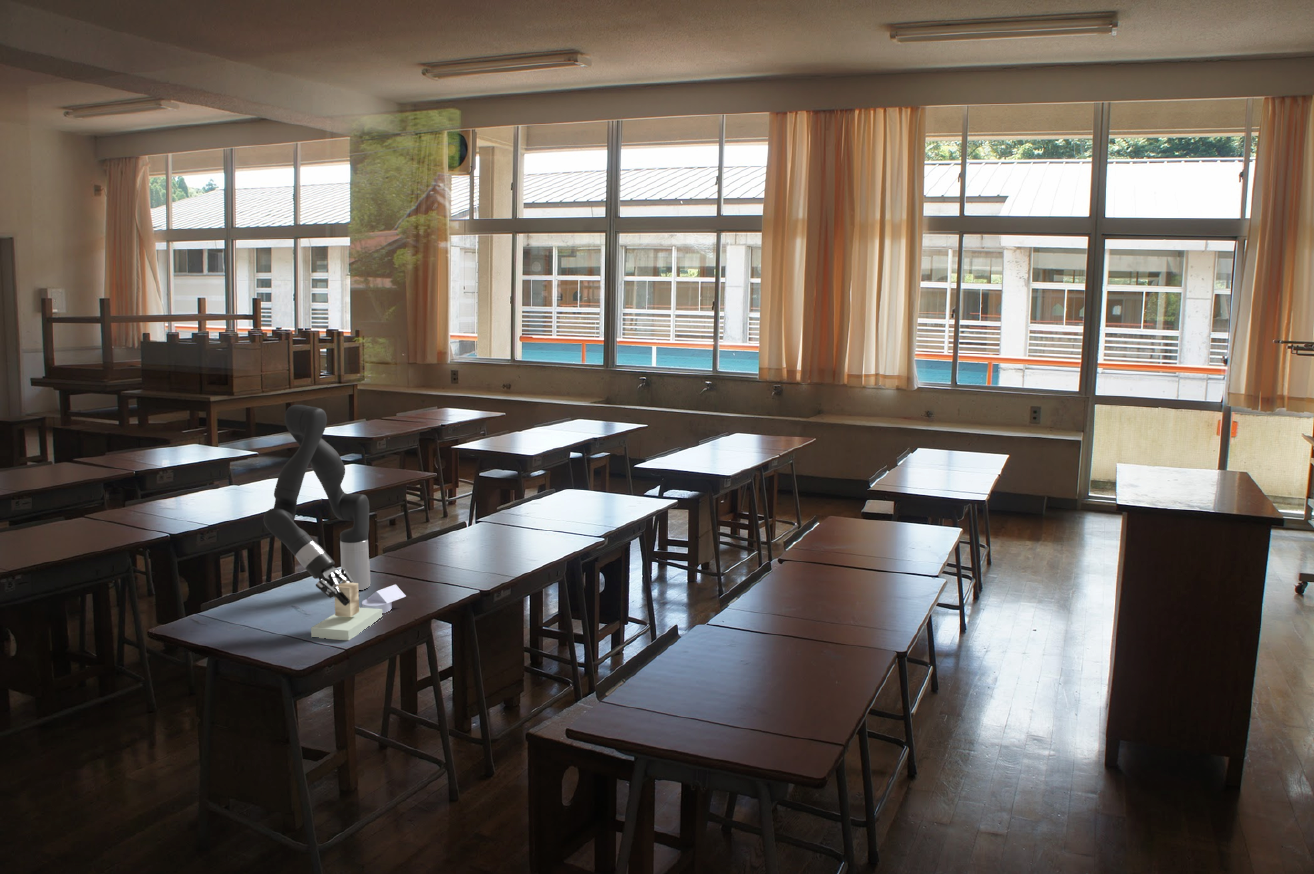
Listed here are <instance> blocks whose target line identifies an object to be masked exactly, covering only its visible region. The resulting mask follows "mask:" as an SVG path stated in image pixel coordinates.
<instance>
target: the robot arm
mask: <svg viewBox="0 0 1314 874" xmlns="http://www.w3.org/2000/svg"><path fill="white" fill-rule="evenodd" d="M284 423H285V426H286V429H287V430H288V432H289V433H290V435H291V437H292V438H293V439H294V440H295V442H296V443H297V444H298V446H299V447H298V449H297V450H296V452H295V453H293V455H292V456H291V458H290V459H288V460H287V462H286V463H285V464H284V465H283V467H282V468H281V470H280V472H279V475H278V477H277V481H276V485H275V488H274V493H273V496H274V499H275V500H274V506H273V508H269V509H268V510H267V511H266V512H265V513H264V515H263V524H264V526H265V528H266V529H267V530H268V531H269V533H271V534H272V535H273V536H274V537H276V538H277V540H279V541H280V543H281V542H282V544H284V545H285V546H286V548H287V549H288V550H289V551H290V553H291V554H292V555H293V556H294V558H296V559H297V561H298V562H299V564H300V565H301V566H302V567H303V568H304V569H305V570H306V571H307V572H308V574H310V576H311V577H312V578H313V579H315V580H317V579H319V581H318V582H317V583H316V584H315V587H316V588H317V589H318V590H319V591H321V592H322V593H323V594H325V595H326V596H327V597H328V598H334V599H335V598H337V599H338V600H339V601H340V602H341V603H342V604H343V605H344V606H346V605H347V604H348V603H349V602H350V600H349V599H348V598H347V597H346V596H345V595H344V594H343V592H341V590H340V589H339V588H338V587H339V584H341V583H347V582H349V583H358V591H359V590H363V591H365V590H364V589H366V588H368V587H369V586H370V587H371V585H370V584H371V583H372V582H371V562H370V561H371V560H370V557H369V556H370V554H369V553H370V552H369V549H370V548H369V531H370V501H369V498H368V496H367V495H366V494H362V493H361V494H360V493H346V492H344V489H342V482H343V480H344V478H345V475H346V466H345V464H344V462H343V460H342V458H341V456H340V454H339V453H338V451H337V450H336V449H334V447H333V446H332V445H330V443H328V442H327V441H325V439H324V438H323V435H324V432H325V430H326V428H327V423H328V415H327V414H326V411H325V410H324V409H323V408H320V407H316V406H310V405H309V406H308V405H305V404H293V405H290V406H289V407H288V408H287V409H286V411H285V414H284ZM309 465H310V466H311V469H312V470H313V472H314V474H315V476H316V478H317V480H318V481H319V482H320V484H321V486H322V488H323V490H324V492H325V495H326V496H327V500H328V502H329V505H330V508H331V510H332V513H333V514H334V516H335V517H336V519H338V520H341V521H352V522H353V526H352V527H351V528H348V529H344V530H343V531H341V532H340V534H339V547H340V549H339V550H340V568H341V569H338V568H336V567H335V564H336V563H335V560H333V558H332V557H331V556H330V555H329V554H328V553H327V552H326V551H325V549H324V548H323V547H322V546H321V545H320V544H318V543H317V542H316V541H315V540H314V539H313V538H312V537H311V536H310V535H309V533H308V532H306V530H304V529H303V528H300V527H299V526H298V525H297V524H296V522H294V521H295V519H296V514H297V512H296V511H297V504H298V499H299V495H300V491H301V489H302V485H303V481H304V478H305V474H306V473H307V472H306V471H307V469H308V467H309ZM335 589H336V590H335ZM368 589H369V588H368ZM366 590H367V589H366ZM359 592H360V591H359ZM359 597H360V594H359Z"/></svg>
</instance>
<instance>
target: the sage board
mask: <svg viewBox="0 0 1314 874" xmlns="http://www.w3.org/2000/svg"><path fill="white" fill-rule="evenodd" d="M382 616H384V615H382V609H374V608H362V607H360V606H359V612H358V613H356V614H355V615H353V616H352V617H344V616H335V613H334V614H331V615H330V616H329V617H326V618H325V619H323V620H322V621H320V622H318V623H316V624H315V625H313V626H312V627H310V631H311V632H310V633H311V638H312V637H319V638H318V639H324V638H326V640H336V641H337V640H339V641H350V640H352V639H353V638H355V637H357V636H358V635H360V634H361V633H363V632H364V631H365V630H364V629H366V628H367V627H368V626H370V627H371V625H372V624H373V623H374V622H376V621H377V620H378V619H379V618H381V617H382ZM376 623H377V622H376ZM373 625H374V624H373ZM373 625H372V626H373ZM367 629H368V628H367ZM367 629H366V630H367ZM363 630H364V631H363ZM362 631H363V632H362ZM360 632H361V633H360ZM359 633H360V634H359Z"/></svg>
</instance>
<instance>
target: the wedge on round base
mask: <svg viewBox="0 0 1314 874" xmlns="http://www.w3.org/2000/svg"><path fill="white" fill-rule="evenodd" d="M405 597H407V595H406V594H405V593H404V592H403V591H402V590H401V589H400V588H399V586H398V585H397V584H396V583H395V584H393V585H390V586H387V587H384V588H382V589H379V590H376V591H375V592H373V593H372V594H371V595H370V596H368V598H366V599H363V600H362V601H361V606H362V607H361V608H374V609H382V613H386V612H388V611H390V610H391V609H392V610H393V607H392V606H393V605H392V602H396V601H398V600H400V599H403V598H405Z"/></svg>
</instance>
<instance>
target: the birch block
mask: <svg viewBox="0 0 1314 874" xmlns="http://www.w3.org/2000/svg"><path fill="white" fill-rule="evenodd" d="M340 583H341V582H340ZM338 588H339V589H340V590H341V592H343V594H344V595H345V596H346V597H347V598H348V599H349V600H350V602H349V603H348V604H347V605H346V606H344V605H343V604H342V603H341V602H340V601H339V600H338V599H337V598H335V597H334V614H335V616H344V617H352V616H353V615H355V614H356V613H358V612H359V607H360V596H359V595H360V593H359V592H360V591H358V583H349V582H347V583H341V584H339V587H338ZM335 590H336V589H335Z"/></svg>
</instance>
